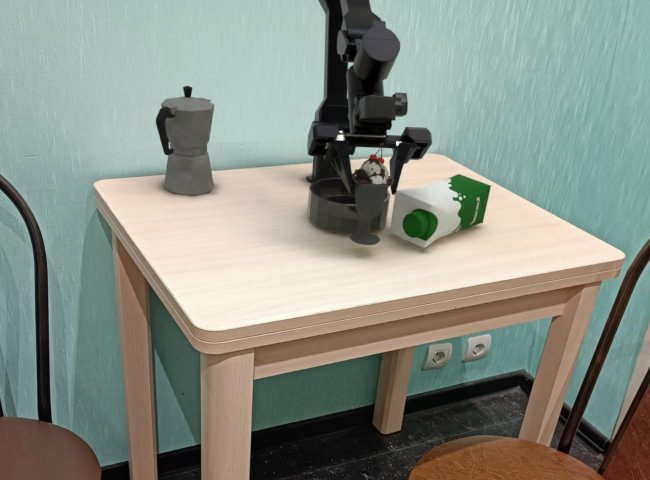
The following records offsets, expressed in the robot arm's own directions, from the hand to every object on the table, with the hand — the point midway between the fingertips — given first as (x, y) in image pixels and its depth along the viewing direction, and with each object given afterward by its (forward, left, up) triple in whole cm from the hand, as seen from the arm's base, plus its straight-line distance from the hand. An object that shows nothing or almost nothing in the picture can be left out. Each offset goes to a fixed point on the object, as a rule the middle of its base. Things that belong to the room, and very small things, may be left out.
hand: (372, 193), depth 117 cm
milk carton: (-3, +28, -6) cm, 29 cm away
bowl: (-13, +8, -11) cm, 19 cm away
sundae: (-1, +1, -8) cm, 8 cm away
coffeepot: (-39, -9, -11) cm, 42 cm away
